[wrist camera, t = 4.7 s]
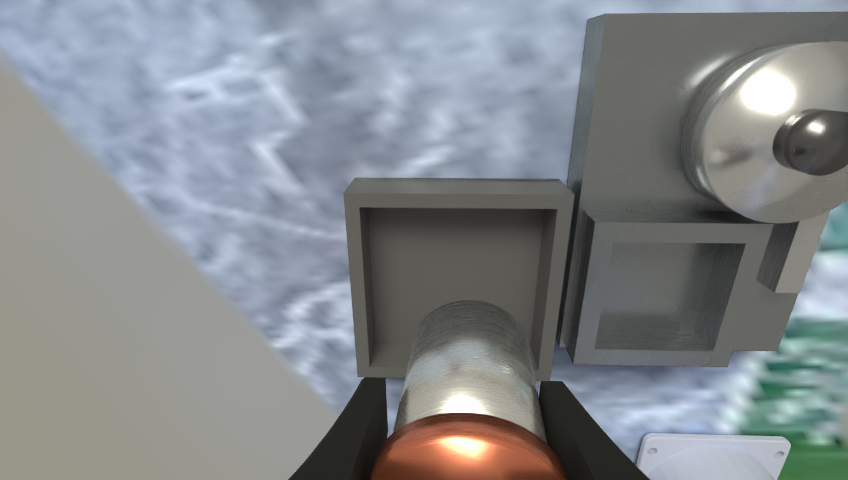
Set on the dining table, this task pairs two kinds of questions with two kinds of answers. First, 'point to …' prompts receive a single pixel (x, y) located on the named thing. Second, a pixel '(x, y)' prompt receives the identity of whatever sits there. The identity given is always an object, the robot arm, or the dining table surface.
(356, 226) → the tray
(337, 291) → the dining table surface
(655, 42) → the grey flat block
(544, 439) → the pin
